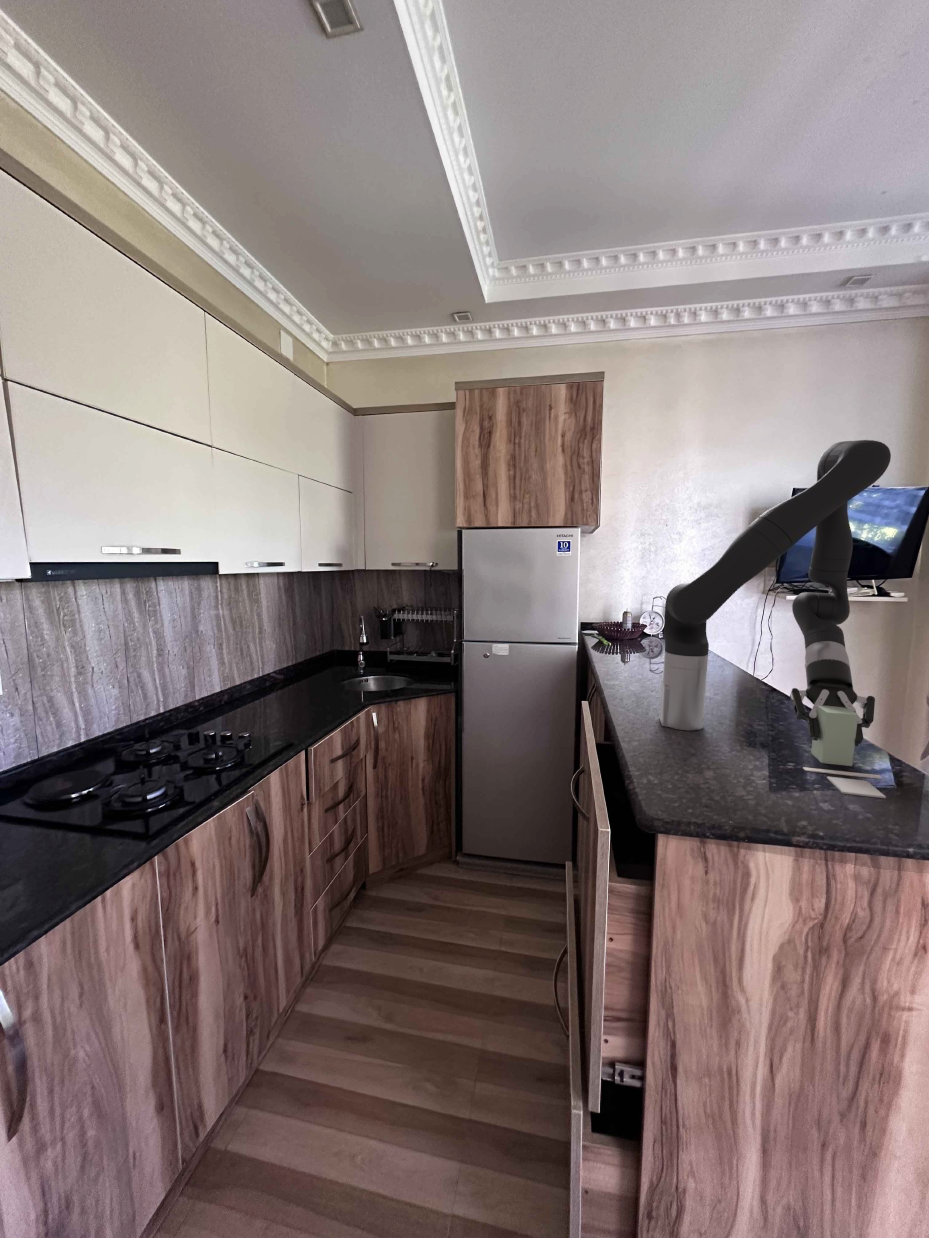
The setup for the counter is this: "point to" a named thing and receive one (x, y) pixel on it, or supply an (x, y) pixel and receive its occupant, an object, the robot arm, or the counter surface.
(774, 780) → the counter surface
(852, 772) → the pale grey thin rod
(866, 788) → the mat
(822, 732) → the sage block
